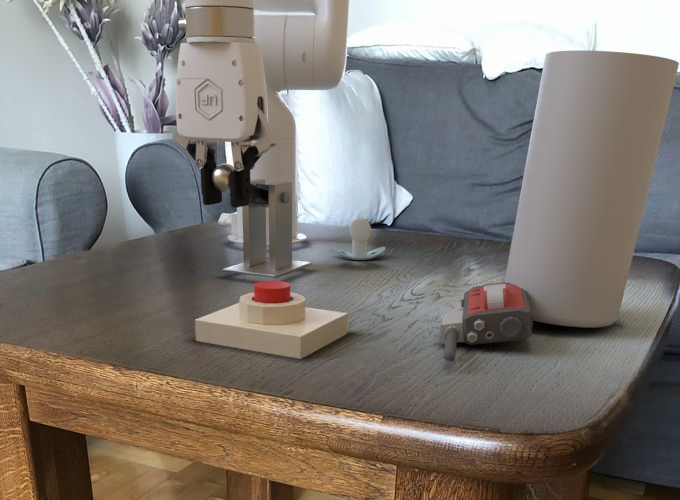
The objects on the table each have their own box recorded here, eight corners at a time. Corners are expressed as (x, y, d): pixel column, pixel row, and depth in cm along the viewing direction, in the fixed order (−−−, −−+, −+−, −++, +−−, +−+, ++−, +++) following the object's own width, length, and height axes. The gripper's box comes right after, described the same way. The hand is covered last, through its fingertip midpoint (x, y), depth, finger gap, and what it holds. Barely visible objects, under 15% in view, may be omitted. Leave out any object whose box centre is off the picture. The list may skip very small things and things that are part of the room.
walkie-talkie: (446, 315, 91) (438, 374, 74) (443, 275, 89) (433, 326, 72) (527, 306, 89) (538, 364, 72) (525, 265, 87) (536, 315, 70)
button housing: (195, 341, 82) (193, 301, 80) (248, 319, 90) (247, 282, 88) (300, 359, 77) (301, 317, 75) (347, 334, 85) (348, 295, 83)
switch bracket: (275, 284, 105) (274, 187, 99) (222, 278, 108) (219, 182, 103) (311, 271, 113) (312, 179, 107) (261, 265, 116) (260, 176, 111)
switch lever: (227, 190, 95) (231, 161, 95) (205, 188, 96) (208, 159, 96) (281, 212, 107) (284, 186, 106) (260, 210, 108) (263, 184, 107)
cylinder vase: (611, 335, 82) (678, 54, 72) (489, 315, 86) (536, 47, 76) (620, 317, 93) (679, 70, 83) (510, 300, 97) (554, 63, 87)
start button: (247, 303, 81) (247, 286, 80) (266, 296, 84) (265, 279, 83) (279, 308, 79) (278, 290, 79) (296, 300, 82) (296, 283, 81)
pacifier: (387, 270, 114) (382, 261, 119) (389, 224, 111) (385, 216, 116) (334, 270, 114) (332, 260, 119) (335, 223, 111) (333, 215, 116)
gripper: (139, 28, 90) (152, 203, 99) (267, 25, 84) (269, 213, 92) (179, 32, 96) (188, 197, 105) (302, 29, 90) (301, 206, 98)
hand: (226, 203), depth 98 cm, fingers closed on switch lever, 3 cm apart
